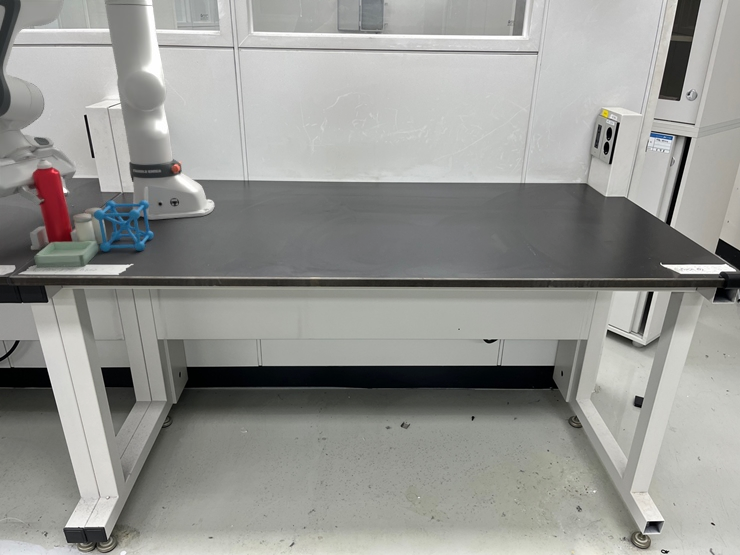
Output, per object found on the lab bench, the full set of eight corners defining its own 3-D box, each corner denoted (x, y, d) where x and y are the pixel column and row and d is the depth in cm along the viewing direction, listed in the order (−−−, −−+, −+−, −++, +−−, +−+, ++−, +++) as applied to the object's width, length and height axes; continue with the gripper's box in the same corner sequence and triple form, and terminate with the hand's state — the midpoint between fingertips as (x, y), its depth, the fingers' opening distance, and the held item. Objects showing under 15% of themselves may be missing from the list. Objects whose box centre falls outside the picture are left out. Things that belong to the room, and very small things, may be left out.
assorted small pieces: (113, 235, 139) (108, 204, 136) (84, 265, 121) (77, 231, 118) (47, 236, 138) (40, 205, 134) (8, 267, 119) (-2, 232, 116)
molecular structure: (113, 238, 137) (106, 199, 133) (155, 237, 138) (149, 198, 134) (99, 253, 128) (91, 211, 124) (144, 252, 129) (137, 211, 125)
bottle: (46, 248, 129) (25, 163, 121) (53, 240, 134) (34, 158, 126) (71, 247, 130) (52, 162, 122) (77, 239, 135) (60, 157, 127)
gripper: (-28, 152, 116) (17, 202, 117) (55, 137, 134) (94, 181, 134) (-36, 171, 120) (7, 220, 120) (46, 154, 137) (84, 196, 138)
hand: (54, 199), depth 128 cm, fingers closed on bottle, 5 cm apart
